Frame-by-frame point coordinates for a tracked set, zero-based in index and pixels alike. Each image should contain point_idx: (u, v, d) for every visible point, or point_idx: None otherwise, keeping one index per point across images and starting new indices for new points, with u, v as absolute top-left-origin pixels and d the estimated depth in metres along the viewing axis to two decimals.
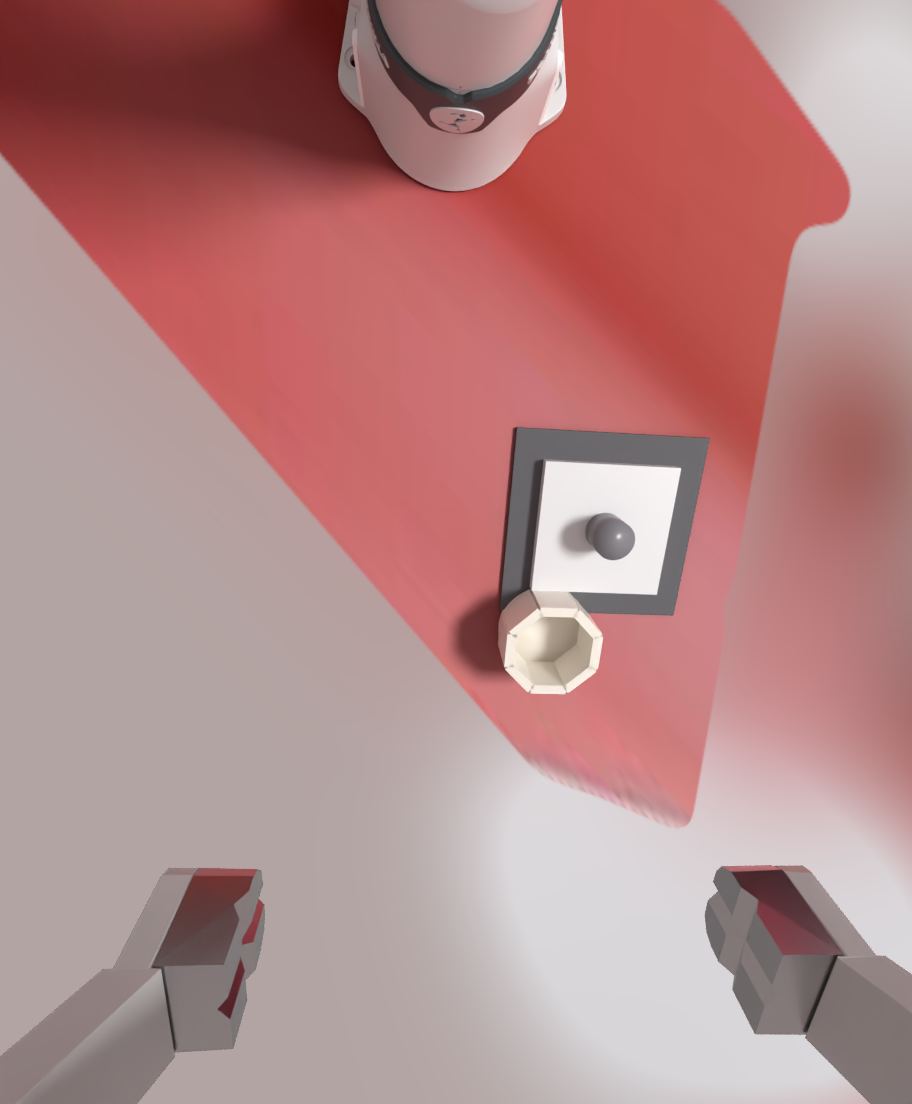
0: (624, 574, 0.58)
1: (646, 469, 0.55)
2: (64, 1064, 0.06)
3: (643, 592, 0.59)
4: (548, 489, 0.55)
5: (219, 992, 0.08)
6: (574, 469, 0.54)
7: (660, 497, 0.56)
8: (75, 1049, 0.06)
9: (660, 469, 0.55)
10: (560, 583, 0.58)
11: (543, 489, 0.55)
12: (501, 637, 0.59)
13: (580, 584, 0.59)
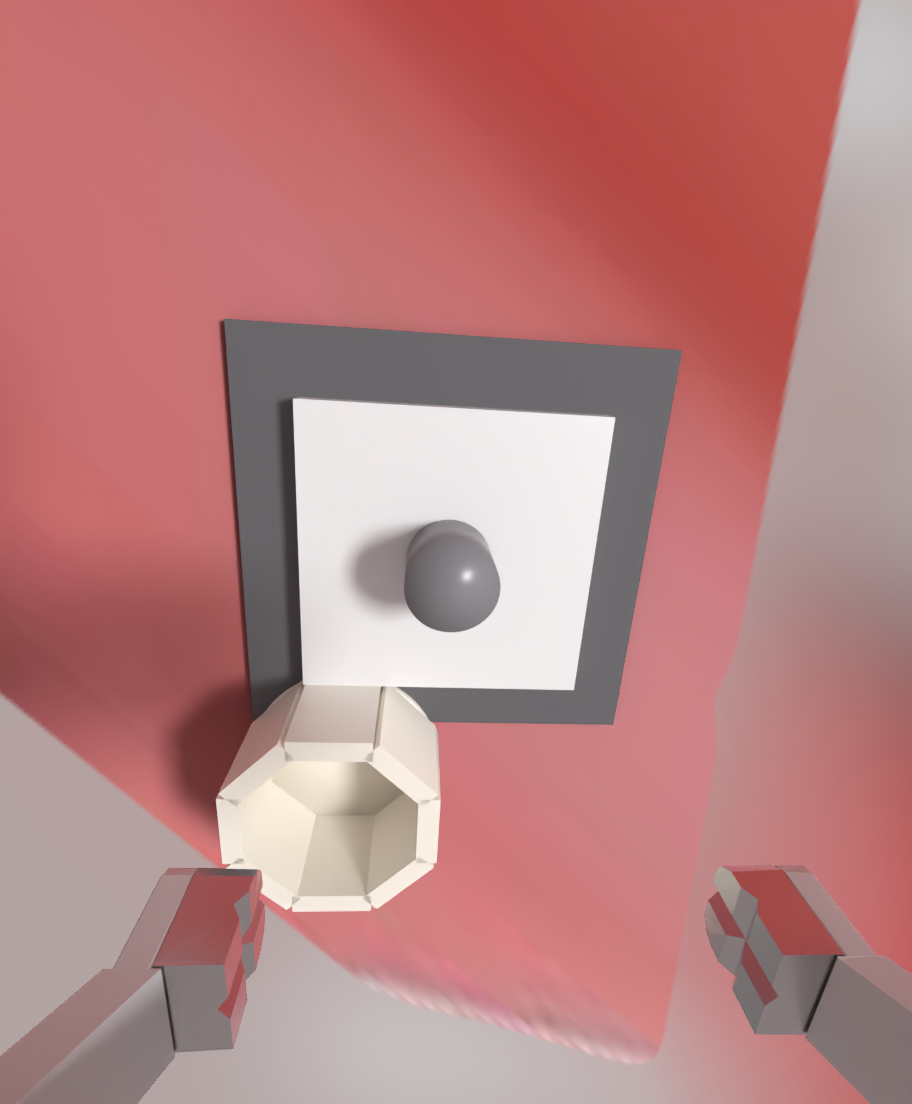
0: (502, 650, 0.27)
1: (535, 419, 0.24)
2: (64, 1063, 0.06)
3: (545, 686, 0.28)
4: (308, 466, 0.24)
5: (219, 991, 0.08)
6: (363, 420, 0.23)
7: (569, 485, 0.25)
8: (75, 1049, 0.06)
9: (567, 420, 0.24)
10: (364, 670, 0.27)
11: (297, 466, 0.24)
12: None
13: (408, 671, 0.27)
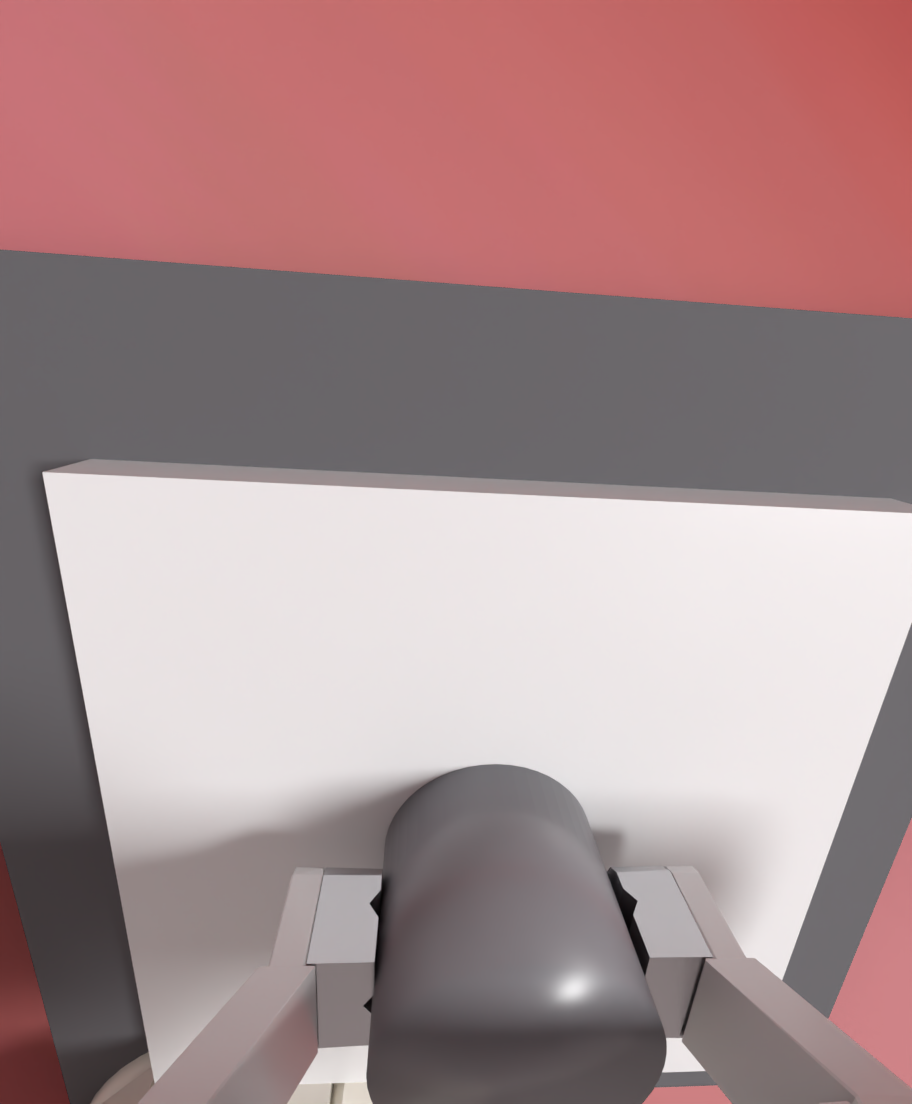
0: None
1: (736, 521, 0.09)
2: (246, 1059, 0.06)
3: (690, 1065, 0.13)
4: (112, 650, 0.09)
5: (367, 988, 0.08)
6: (258, 530, 0.08)
7: (803, 680, 0.10)
8: (252, 1044, 0.07)
9: (821, 523, 0.09)
10: None
11: (82, 649, 0.09)
12: None
13: None
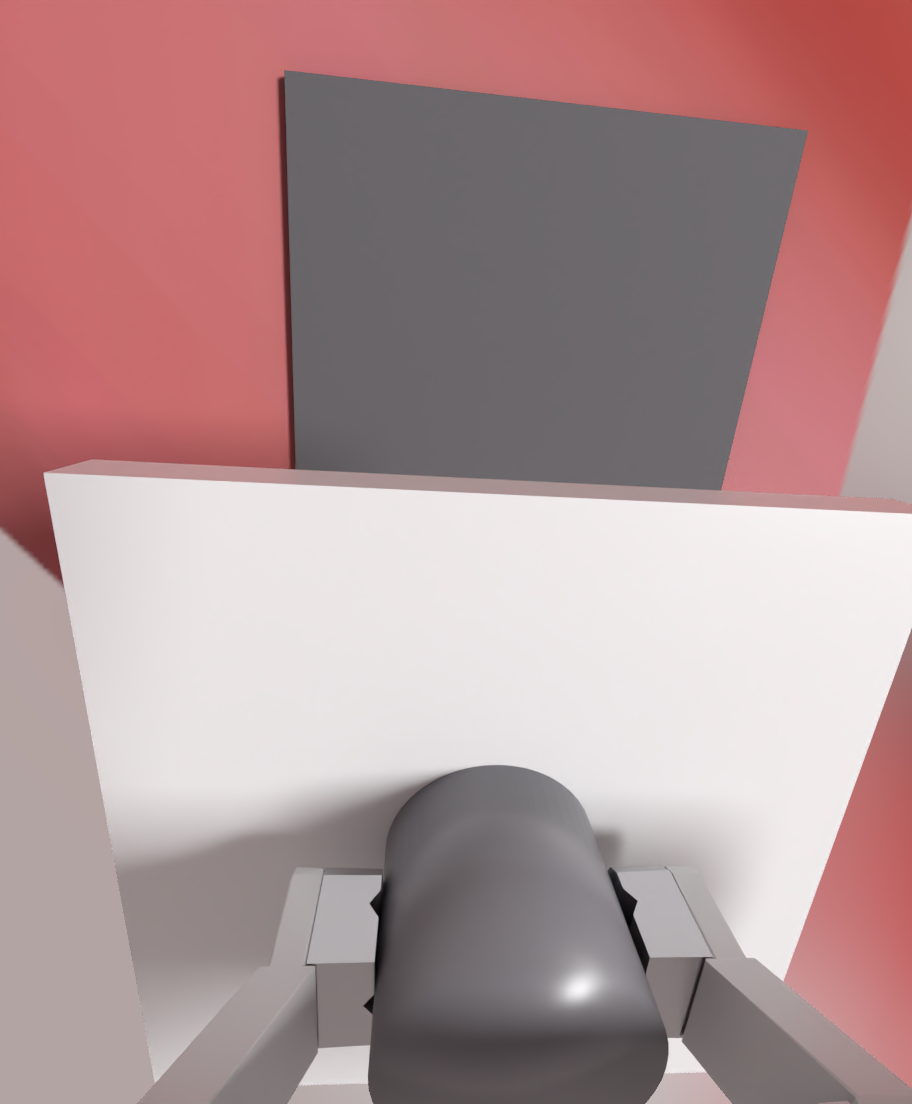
0: None
1: (738, 523, 0.09)
2: (246, 1058, 0.06)
3: (691, 1066, 0.13)
4: (113, 650, 0.09)
5: (367, 988, 0.08)
6: (259, 530, 0.08)
7: (804, 681, 0.10)
8: (252, 1044, 0.07)
9: (823, 524, 0.09)
10: None
11: (83, 650, 0.09)
12: None
13: None
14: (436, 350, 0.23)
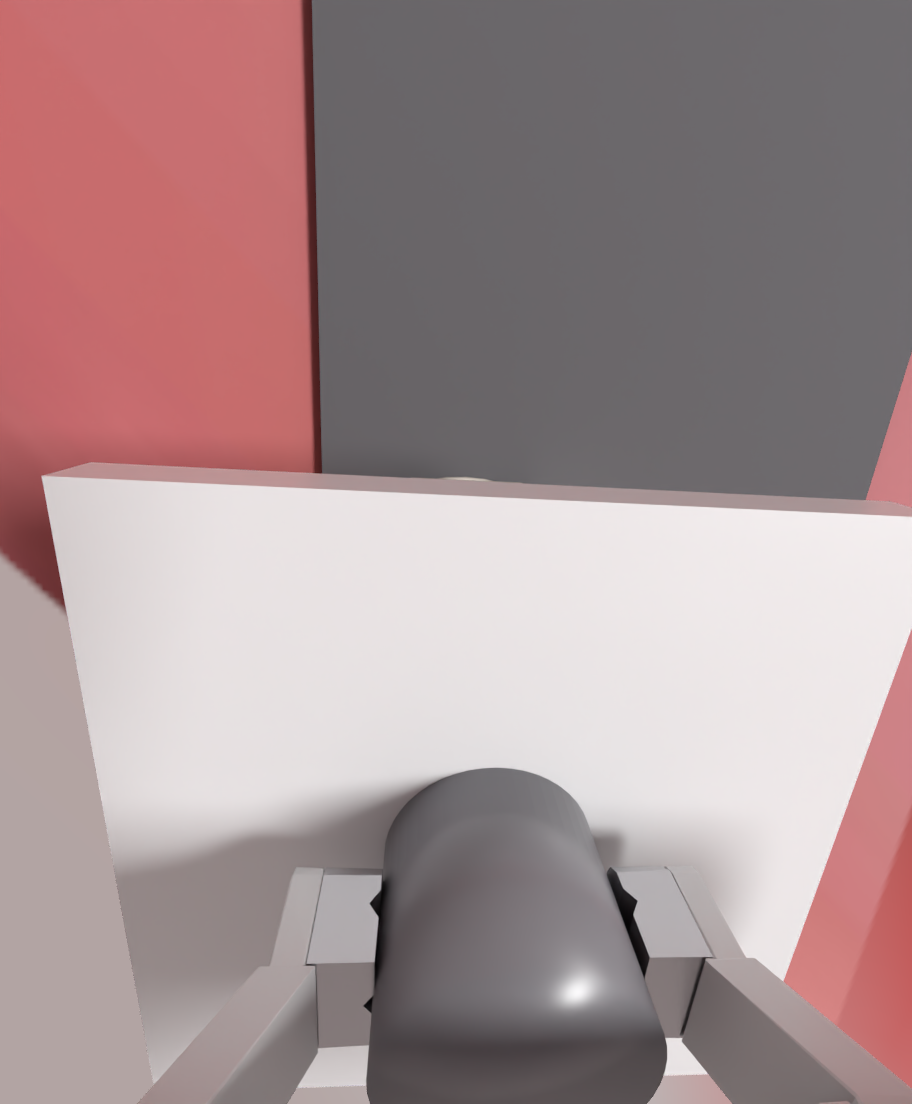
0: None
1: (736, 525, 0.09)
2: (245, 1059, 0.06)
3: (690, 1069, 0.13)
4: (111, 654, 0.09)
5: (367, 989, 0.08)
6: (257, 533, 0.08)
7: (803, 684, 0.10)
8: (252, 1044, 0.07)
9: (822, 527, 0.09)
10: None
11: (81, 653, 0.09)
12: None
13: None
14: (517, 222, 0.17)
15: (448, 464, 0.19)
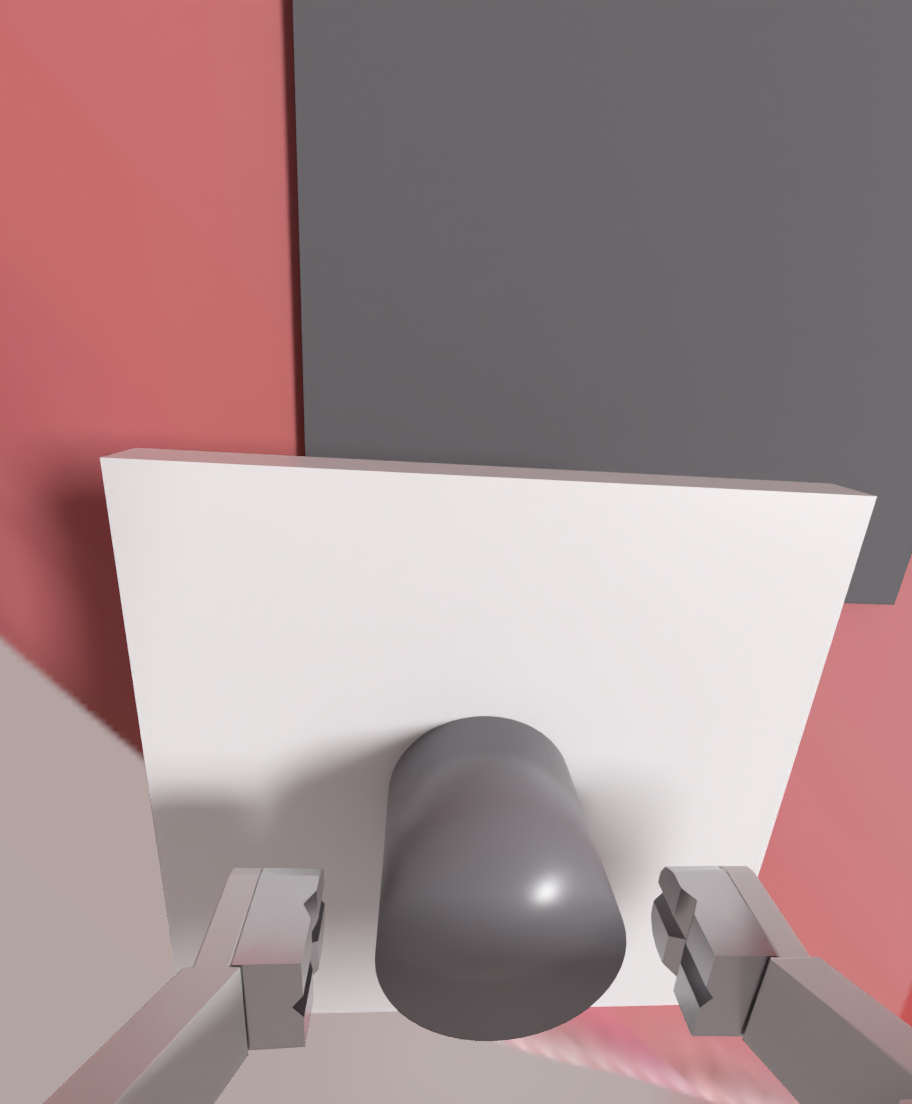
0: None
1: (691, 502, 0.10)
2: (158, 1061, 0.06)
3: (663, 999, 0.14)
4: (154, 612, 0.10)
5: (295, 990, 0.08)
6: (281, 507, 0.10)
7: (753, 642, 0.11)
8: (166, 1046, 0.06)
9: (765, 503, 0.10)
10: None
11: (128, 611, 0.10)
12: None
13: None
14: (530, 210, 0.14)
15: None
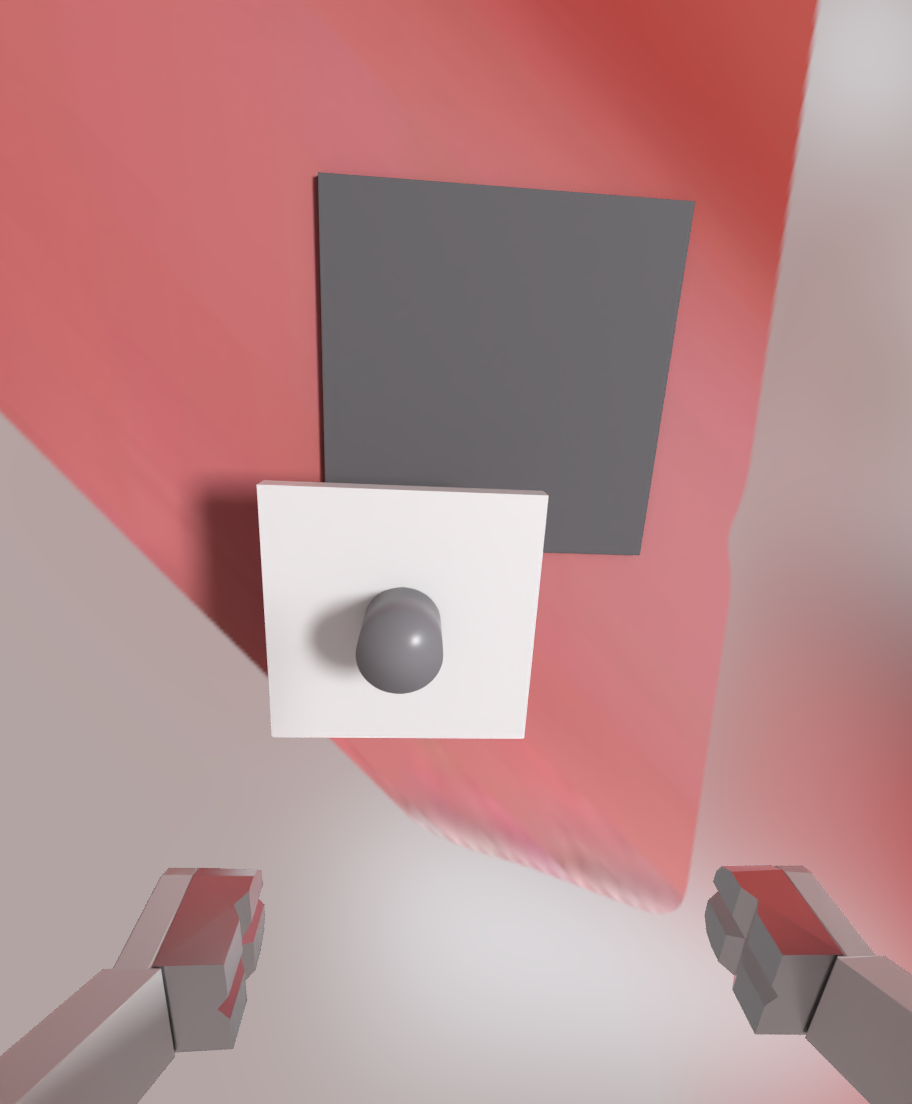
0: (455, 703, 0.30)
1: (476, 498, 0.26)
2: (64, 1064, 0.06)
3: (497, 735, 0.30)
4: (272, 542, 0.26)
5: (219, 991, 0.08)
6: (321, 502, 0.26)
7: (510, 554, 0.27)
8: (75, 1049, 0.06)
9: (504, 498, 0.26)
10: (328, 723, 0.30)
11: (262, 542, 0.26)
12: None
13: (369, 723, 0.30)
14: (430, 365, 0.31)
15: None
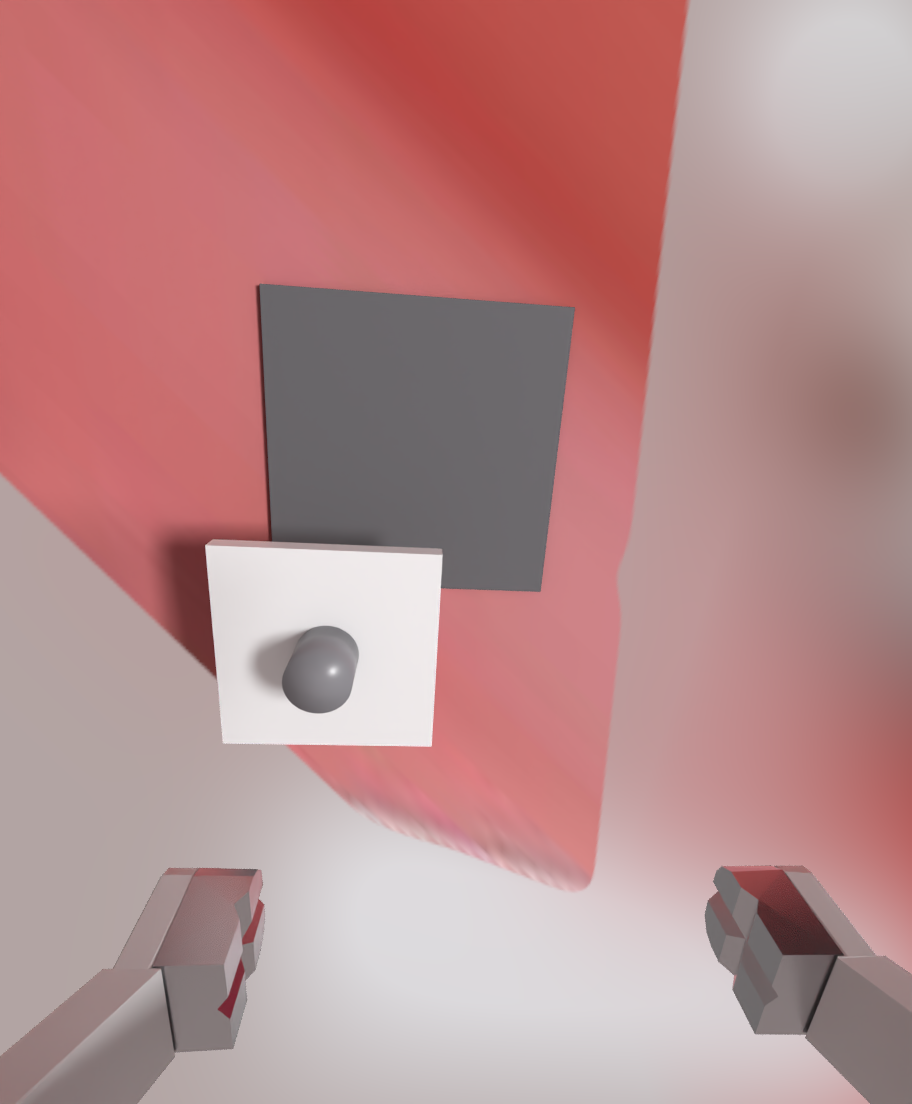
0: (373, 717, 0.36)
1: (383, 556, 0.33)
2: (63, 1064, 0.06)
3: (409, 743, 0.37)
4: (218, 590, 0.33)
5: (219, 992, 0.08)
6: (257, 559, 0.32)
7: (413, 601, 0.34)
8: (75, 1049, 0.06)
9: (407, 557, 0.33)
10: (269, 732, 0.36)
11: (210, 590, 0.33)
12: None
13: (302, 733, 0.36)
14: (357, 437, 0.37)
15: (333, 541, 0.39)
